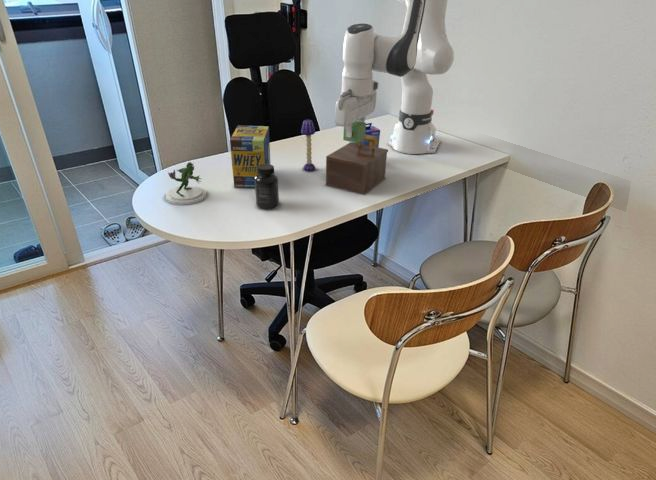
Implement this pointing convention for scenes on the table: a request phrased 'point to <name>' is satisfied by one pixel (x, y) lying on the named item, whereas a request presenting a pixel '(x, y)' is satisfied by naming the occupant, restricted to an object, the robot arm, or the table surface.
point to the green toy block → (356, 132)
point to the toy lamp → (308, 143)
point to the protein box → (249, 153)
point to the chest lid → (358, 153)
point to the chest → (355, 175)
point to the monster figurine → (185, 188)
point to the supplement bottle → (266, 187)
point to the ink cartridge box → (373, 132)
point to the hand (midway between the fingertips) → (354, 133)
